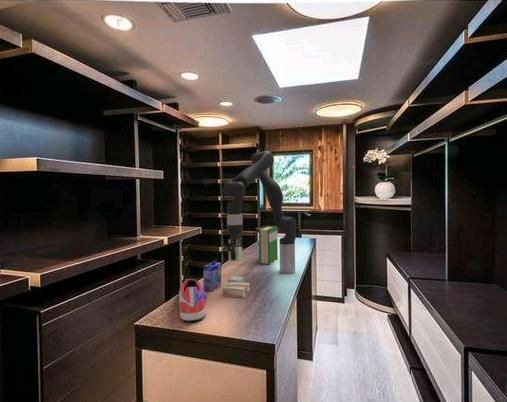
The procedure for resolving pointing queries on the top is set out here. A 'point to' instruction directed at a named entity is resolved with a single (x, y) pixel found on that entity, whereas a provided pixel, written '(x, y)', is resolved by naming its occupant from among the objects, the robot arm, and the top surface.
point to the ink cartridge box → (212, 276)
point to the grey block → (236, 279)
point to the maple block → (236, 289)
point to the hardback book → (268, 245)
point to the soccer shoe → (192, 301)
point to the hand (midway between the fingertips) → (235, 258)
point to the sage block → (237, 254)
